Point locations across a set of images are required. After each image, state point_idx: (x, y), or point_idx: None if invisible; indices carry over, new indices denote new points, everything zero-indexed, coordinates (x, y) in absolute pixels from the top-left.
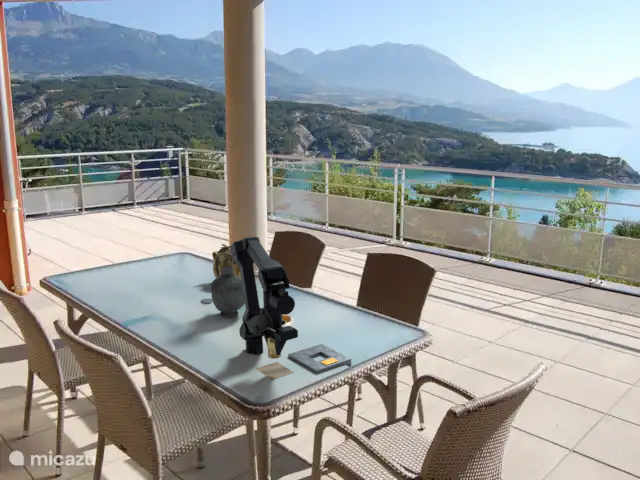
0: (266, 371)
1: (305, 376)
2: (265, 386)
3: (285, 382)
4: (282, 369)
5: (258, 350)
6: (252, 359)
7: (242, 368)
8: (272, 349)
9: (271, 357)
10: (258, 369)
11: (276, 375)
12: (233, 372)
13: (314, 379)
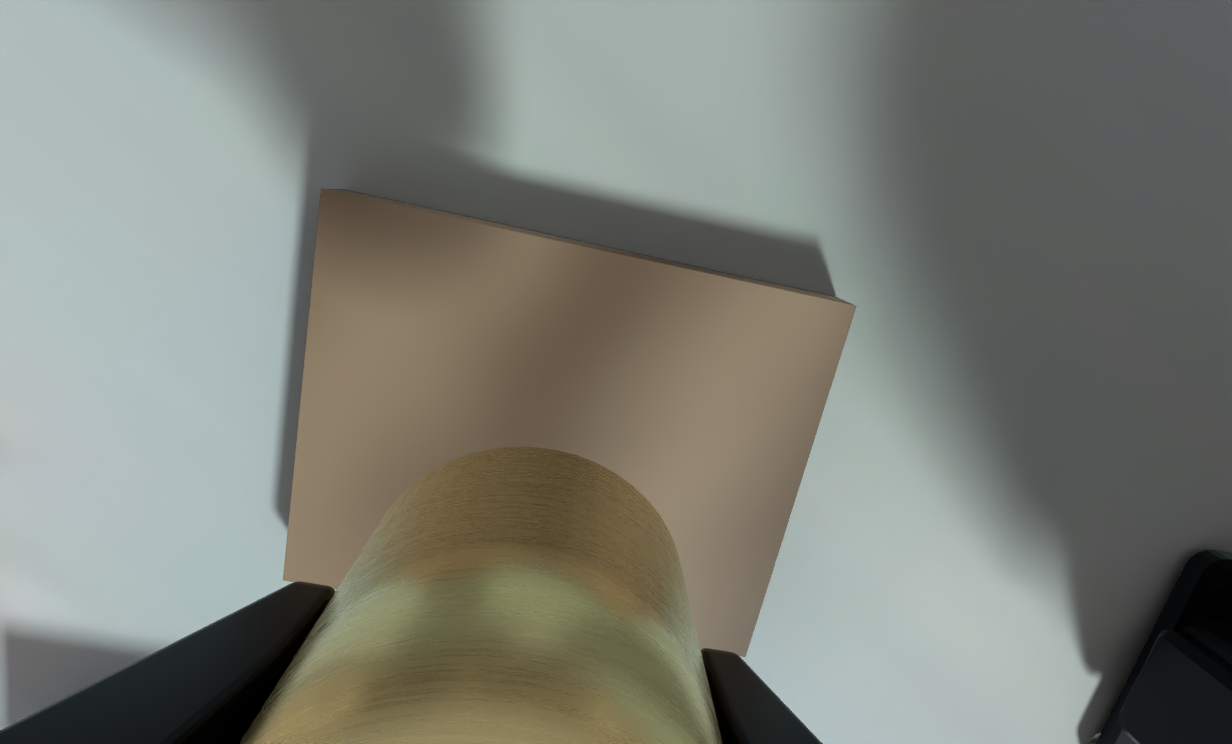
0: (634, 340)
1: (174, 621)
2: (322, 14)
3: (213, 325)
4: None
5: (1205, 709)
6: (1148, 535)
7: (1090, 237)
8: (344, 629)
9: (465, 464)
10: (794, 308)
11: (396, 340)
12: (1129, 32)
13: (17, 633)
